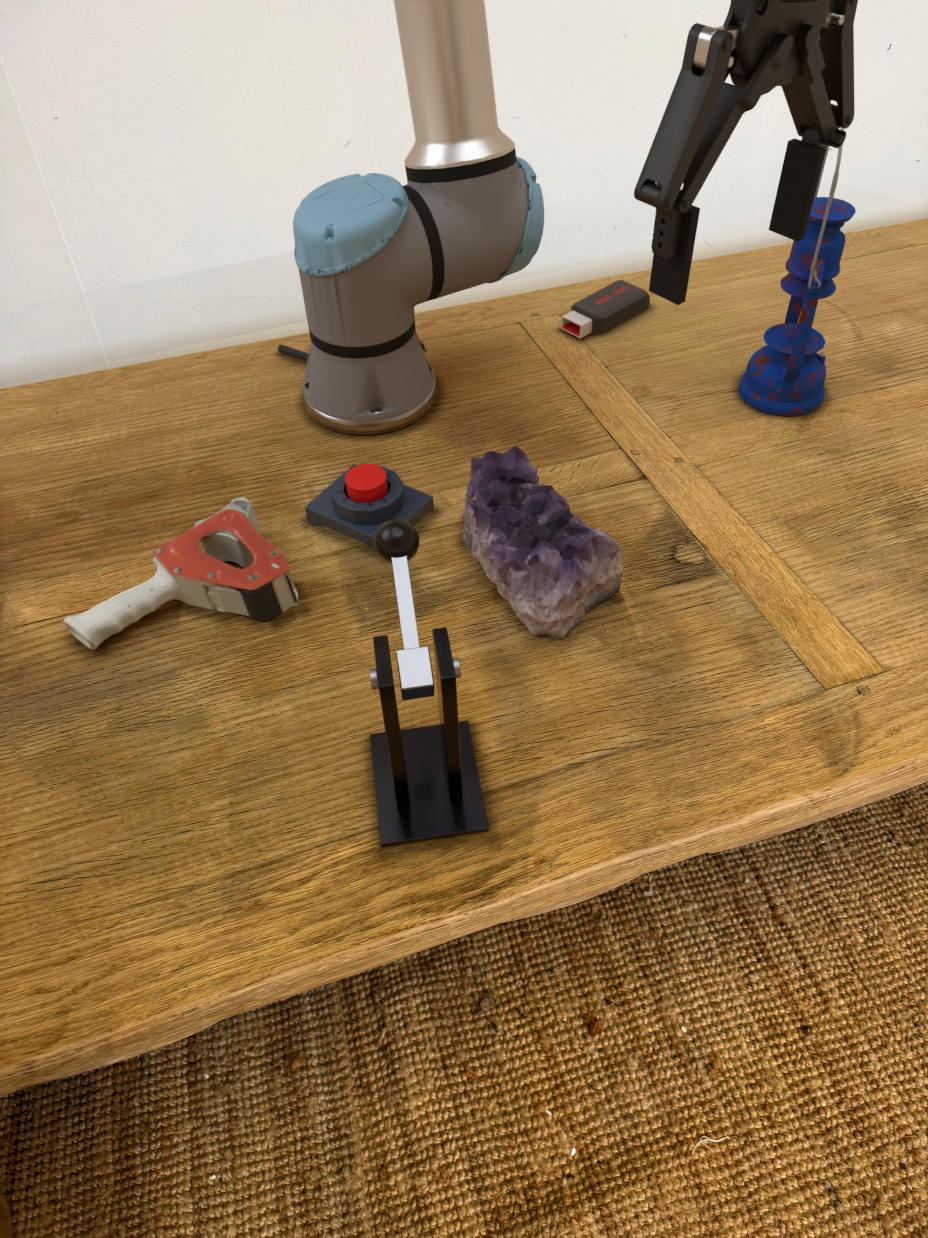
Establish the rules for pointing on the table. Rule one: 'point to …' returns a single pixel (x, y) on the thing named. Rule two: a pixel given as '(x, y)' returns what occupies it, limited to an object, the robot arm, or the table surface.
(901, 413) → the table surface
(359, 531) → the button box
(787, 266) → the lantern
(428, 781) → the switch bracket
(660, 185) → the robot arm
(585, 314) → the usb drive
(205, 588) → the tape dispenser
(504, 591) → the geode
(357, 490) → the button
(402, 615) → the switch lever
